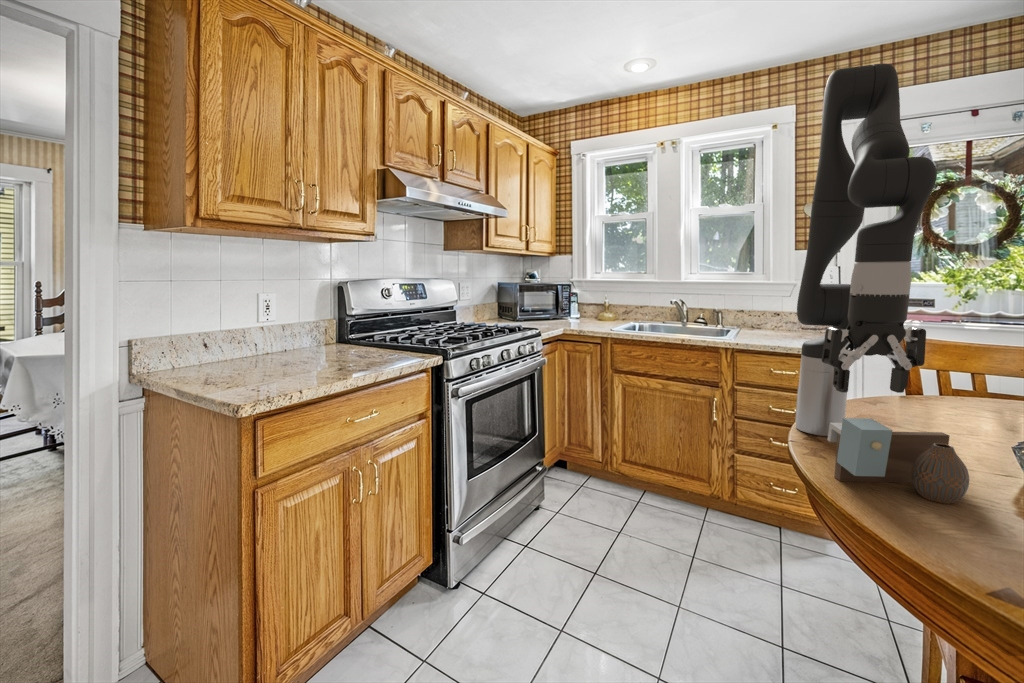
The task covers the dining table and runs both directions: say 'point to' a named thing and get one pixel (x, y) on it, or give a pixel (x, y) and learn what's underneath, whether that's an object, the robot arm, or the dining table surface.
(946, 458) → the vase
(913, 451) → the wall board
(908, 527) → the dining table surface
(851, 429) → the cabinet
